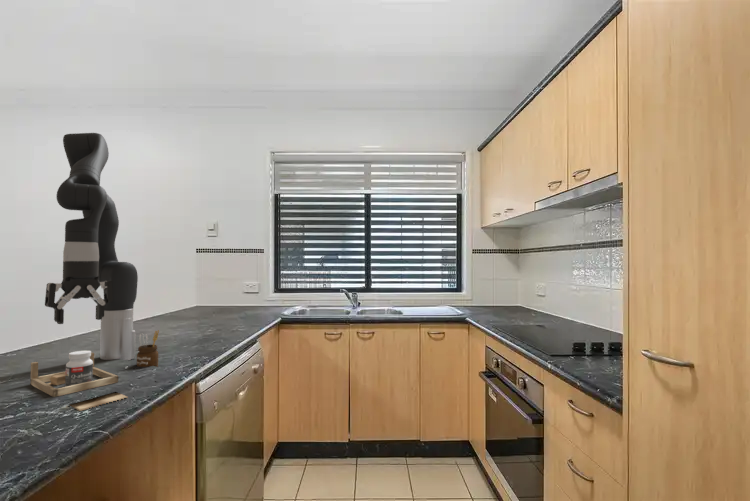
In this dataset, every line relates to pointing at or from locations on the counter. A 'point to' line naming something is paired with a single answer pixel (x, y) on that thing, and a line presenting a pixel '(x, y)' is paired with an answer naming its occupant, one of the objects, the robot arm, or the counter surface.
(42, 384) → the rack
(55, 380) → the offcut top
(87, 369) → the pill bottle
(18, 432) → the counter surface
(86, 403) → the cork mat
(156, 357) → the utensil holder
